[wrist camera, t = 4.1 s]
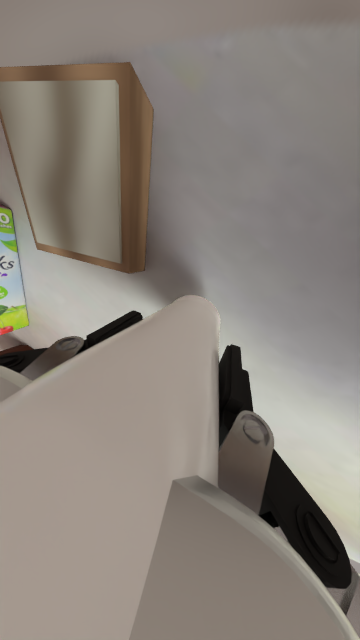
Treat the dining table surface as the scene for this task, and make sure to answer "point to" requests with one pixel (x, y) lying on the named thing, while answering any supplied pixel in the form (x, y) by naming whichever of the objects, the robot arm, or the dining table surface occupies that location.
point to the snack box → (10, 278)
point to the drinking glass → (102, 472)
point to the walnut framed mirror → (81, 158)
